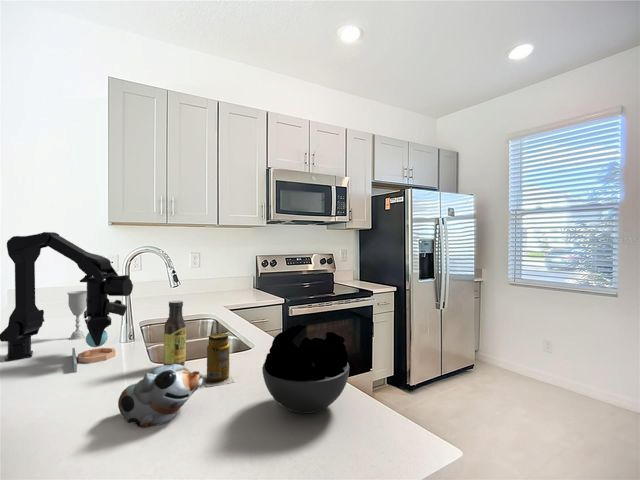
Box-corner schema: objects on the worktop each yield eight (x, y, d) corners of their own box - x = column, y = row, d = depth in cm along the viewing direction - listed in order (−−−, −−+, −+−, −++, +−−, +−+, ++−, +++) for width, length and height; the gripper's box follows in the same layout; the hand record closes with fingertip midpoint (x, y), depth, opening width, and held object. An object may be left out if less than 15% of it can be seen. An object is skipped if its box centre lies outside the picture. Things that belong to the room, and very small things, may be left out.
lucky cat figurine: (177, 393, 83) (201, 347, 82) (189, 432, 74) (217, 381, 73) (111, 394, 73) (138, 341, 72) (116, 439, 64) (147, 380, 63)
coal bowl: (250, 399, 80) (251, 322, 80) (322, 382, 90) (322, 313, 90) (282, 443, 63) (283, 344, 63) (367, 416, 73) (367, 331, 73)
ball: (85, 346, 109) (85, 328, 109) (106, 342, 113) (106, 325, 113) (86, 351, 104) (86, 332, 104) (108, 347, 108) (108, 329, 108)
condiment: (228, 371, 97) (228, 330, 98) (234, 382, 90) (234, 338, 90) (202, 375, 94) (202, 333, 94) (206, 387, 87) (206, 342, 87)
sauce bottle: (177, 371, 97) (177, 304, 97) (158, 369, 98) (158, 303, 99) (190, 363, 104) (190, 300, 104) (172, 361, 105) (172, 299, 105)
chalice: (62, 338, 129) (62, 292, 129) (80, 334, 135) (80, 290, 135) (74, 341, 126) (74, 293, 126) (92, 336, 132) (92, 291, 132)
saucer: (77, 356, 109) (77, 351, 109) (112, 350, 116) (112, 345, 116) (78, 365, 102) (78, 360, 102) (116, 358, 108) (116, 353, 108)
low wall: (72, 355, 110) (72, 347, 110) (74, 355, 111) (74, 347, 111) (74, 372, 96) (74, 363, 96) (76, 371, 96) (76, 363, 97)
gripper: (129, 297, 106) (129, 345, 106) (121, 290, 121) (120, 332, 121) (87, 300, 100) (87, 352, 99) (84, 293, 114) (83, 338, 114)
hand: (96, 343), depth 109 cm, fingers closed on ball, 6 cm apart
